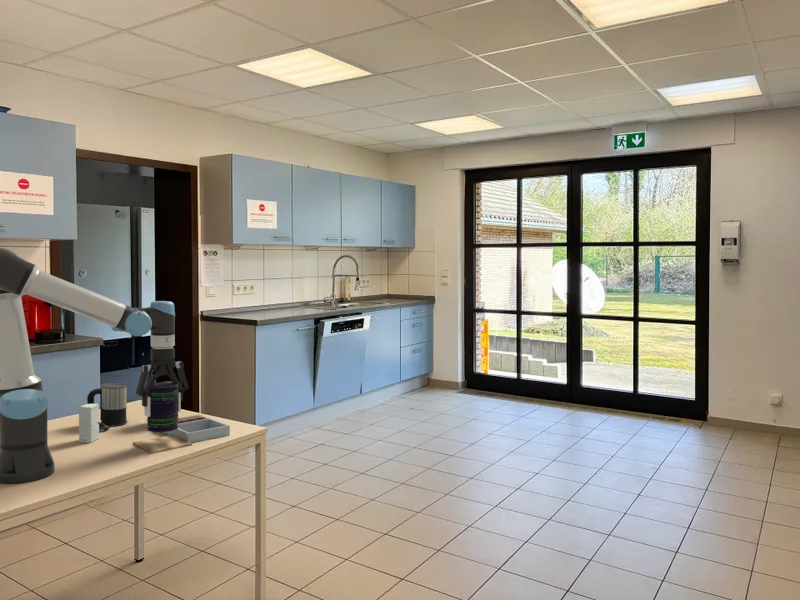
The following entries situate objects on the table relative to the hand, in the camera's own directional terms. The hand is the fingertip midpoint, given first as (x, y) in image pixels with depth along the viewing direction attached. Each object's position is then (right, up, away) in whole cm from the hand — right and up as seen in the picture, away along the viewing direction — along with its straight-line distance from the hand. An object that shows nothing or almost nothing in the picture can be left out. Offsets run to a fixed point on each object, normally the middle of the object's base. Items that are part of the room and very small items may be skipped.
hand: (162, 413), depth 208 cm
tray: (+5, -10, +16) cm, 20 cm away
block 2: (0, -10, +21) cm, 23 cm away
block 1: (-3, -10, +17) cm, 20 cm away
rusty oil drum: (0, -5, 0) cm, 5 cm away
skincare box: (-27, -10, +4) cm, 29 cm away
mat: (0, -11, 0) cm, 11 cm away
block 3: (+3, -10, +24) cm, 26 cm away
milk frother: (-29, -9, +22) cm, 37 cm away
